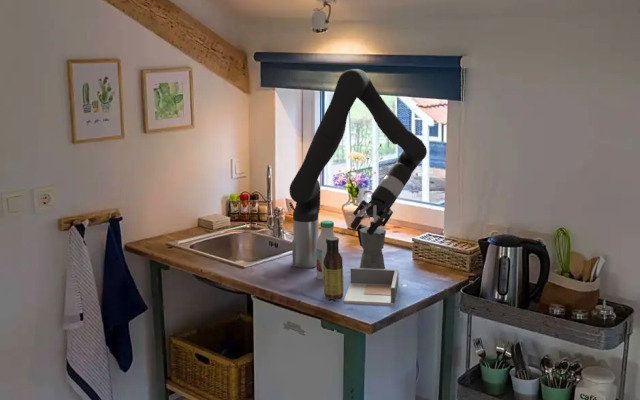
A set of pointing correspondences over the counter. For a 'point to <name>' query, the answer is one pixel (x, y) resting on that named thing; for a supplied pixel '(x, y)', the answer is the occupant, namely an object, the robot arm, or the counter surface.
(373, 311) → the counter surface
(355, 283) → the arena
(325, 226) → the milk bottle
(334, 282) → the sauce bottle
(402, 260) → the counter surface
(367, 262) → the coffeepot
